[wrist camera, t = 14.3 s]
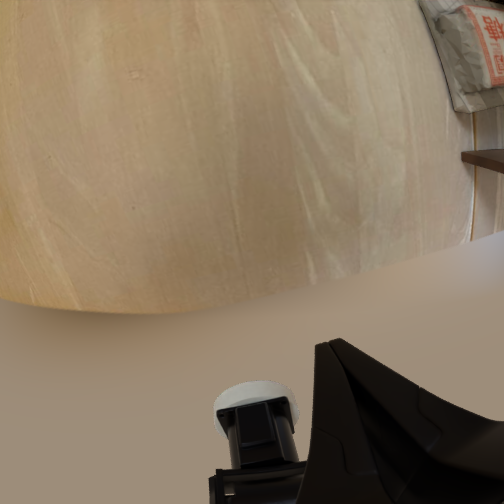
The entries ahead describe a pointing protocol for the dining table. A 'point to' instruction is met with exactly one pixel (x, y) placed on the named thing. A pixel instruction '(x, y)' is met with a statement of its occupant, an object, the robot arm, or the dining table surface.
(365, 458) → the robot arm
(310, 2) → the dining table surface
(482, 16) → the packaged product
